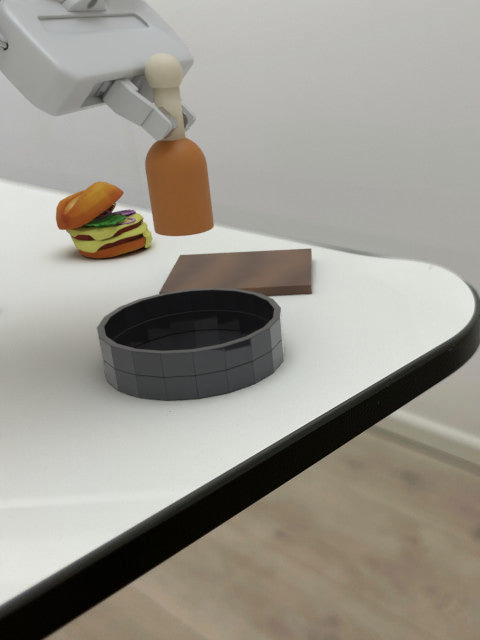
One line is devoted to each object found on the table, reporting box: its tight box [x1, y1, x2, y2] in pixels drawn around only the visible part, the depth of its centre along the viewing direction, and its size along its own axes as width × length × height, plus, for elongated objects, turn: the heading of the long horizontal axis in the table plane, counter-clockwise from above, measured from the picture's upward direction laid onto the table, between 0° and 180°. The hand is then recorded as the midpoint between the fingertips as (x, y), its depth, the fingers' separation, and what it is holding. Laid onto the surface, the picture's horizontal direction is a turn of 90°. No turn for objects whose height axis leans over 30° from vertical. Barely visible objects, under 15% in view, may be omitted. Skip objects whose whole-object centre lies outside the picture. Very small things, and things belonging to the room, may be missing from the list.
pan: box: [96, 288, 285, 402], centre depth 66 cm, size 15×15×4 cm
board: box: [158, 247, 313, 297], centre depth 87 cm, size 16×14×2 cm
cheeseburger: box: [55, 181, 153, 260], centre depth 100 cm, size 10×11×10 cm
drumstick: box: [144, 53, 215, 237], centre depth 60 cm, size 5×5×13 cm
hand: (179, 130), depth 60 cm, fingers closed on drumstick
